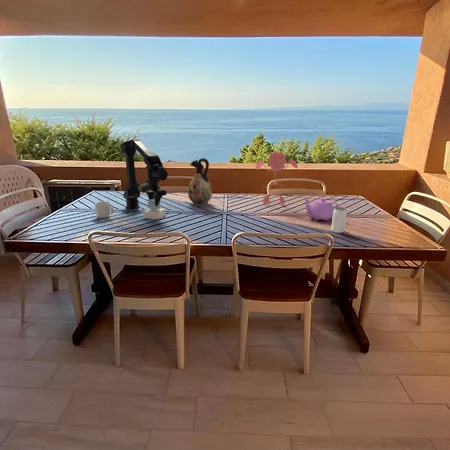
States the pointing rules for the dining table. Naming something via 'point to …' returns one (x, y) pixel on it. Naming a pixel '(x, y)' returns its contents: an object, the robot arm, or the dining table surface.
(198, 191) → the ceramic jug
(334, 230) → the can
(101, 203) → the cup
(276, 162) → the pink artificial flower
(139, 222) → the dining table surface
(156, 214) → the plinth
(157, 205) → the robot arm
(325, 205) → the teapot
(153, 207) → the cube
